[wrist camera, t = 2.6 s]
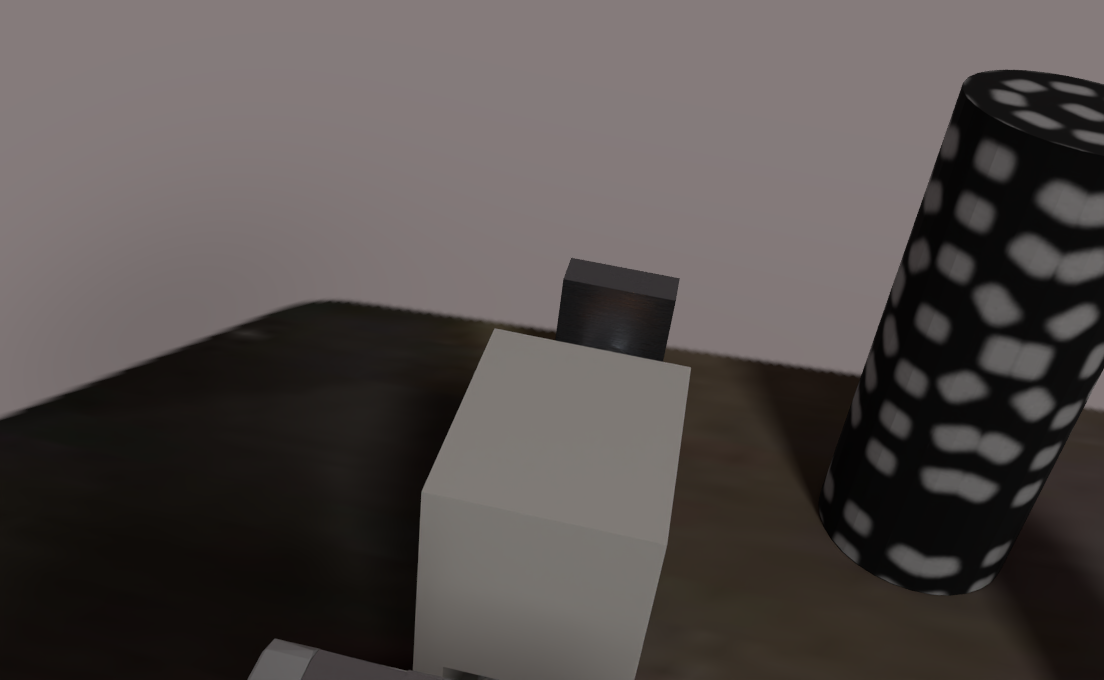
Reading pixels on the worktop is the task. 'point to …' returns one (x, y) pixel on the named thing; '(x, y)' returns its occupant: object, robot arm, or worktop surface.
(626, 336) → the pipe
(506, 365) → the notched block
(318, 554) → the worktop surface
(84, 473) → the worktop surface
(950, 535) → the white-spotted black cylinder
